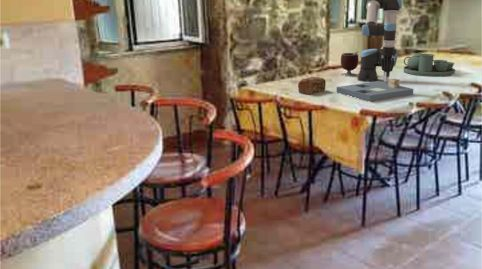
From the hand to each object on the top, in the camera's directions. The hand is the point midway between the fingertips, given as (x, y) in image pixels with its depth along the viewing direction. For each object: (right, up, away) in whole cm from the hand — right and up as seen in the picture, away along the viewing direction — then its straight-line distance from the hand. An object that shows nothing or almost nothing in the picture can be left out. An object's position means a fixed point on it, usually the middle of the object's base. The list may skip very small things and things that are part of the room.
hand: (386, 81), depth 326 cm
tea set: (+56, +15, +69) cm, 90 cm away
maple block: (+3, -4, -6) cm, 8 cm away
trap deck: (-10, -9, -7) cm, 15 cm away
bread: (-51, -7, +3) cm, 51 cm away
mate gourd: (-11, +12, +61) cm, 63 cm away
